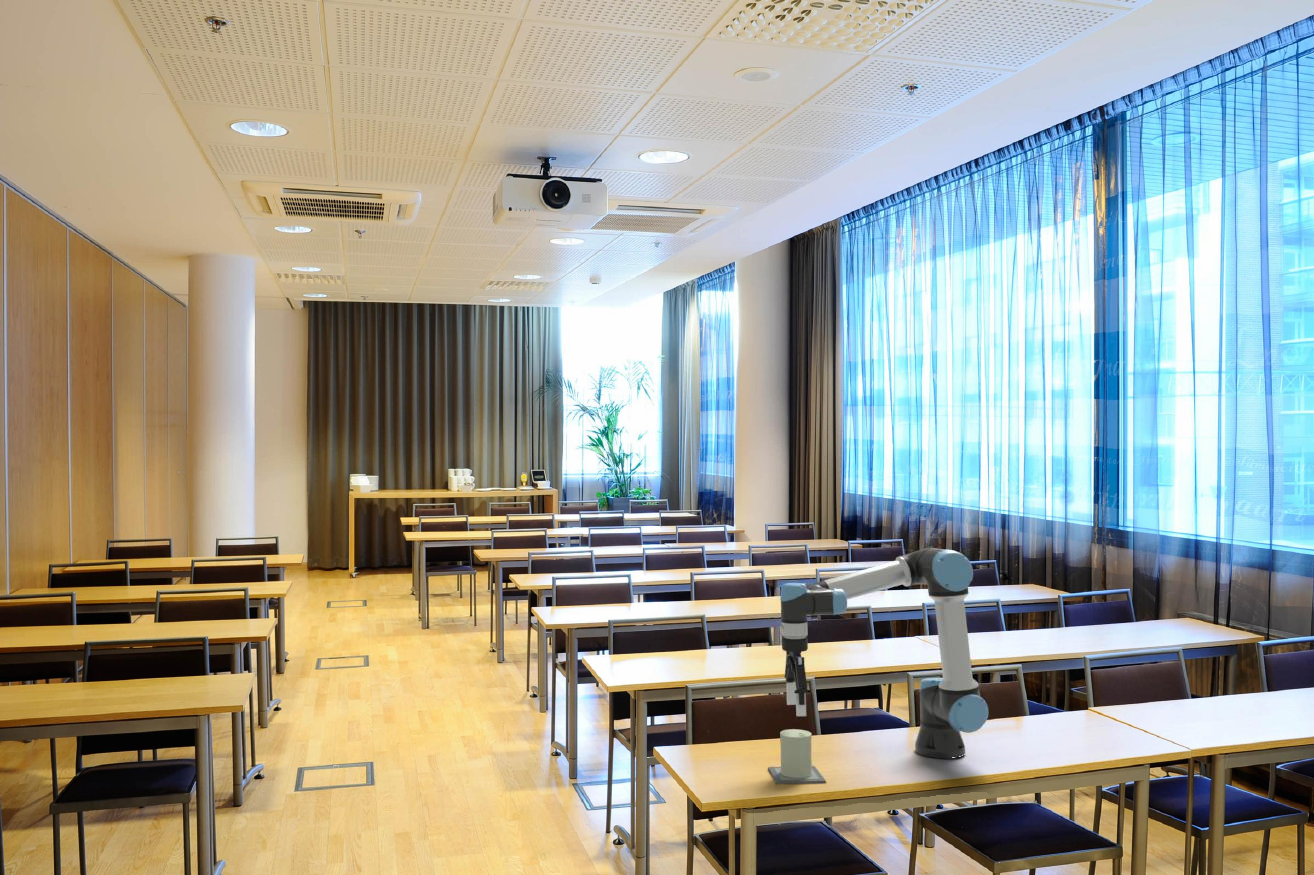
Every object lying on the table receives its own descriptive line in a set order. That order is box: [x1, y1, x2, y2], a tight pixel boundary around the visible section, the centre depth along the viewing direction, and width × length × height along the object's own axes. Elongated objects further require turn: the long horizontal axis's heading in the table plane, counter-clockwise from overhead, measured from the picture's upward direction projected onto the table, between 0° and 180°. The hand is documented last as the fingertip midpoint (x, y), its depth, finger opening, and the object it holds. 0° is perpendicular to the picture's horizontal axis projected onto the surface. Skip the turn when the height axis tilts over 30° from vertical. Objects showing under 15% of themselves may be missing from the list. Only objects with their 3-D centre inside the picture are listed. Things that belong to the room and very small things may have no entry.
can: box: [779, 728, 813, 778], centre depth 273 cm, size 9×9×12 cm
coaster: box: [767, 765, 827, 785], centre depth 273 cm, size 14×14×1 cm
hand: (796, 710), depth 274 cm, fingers open, 13 cm apart
